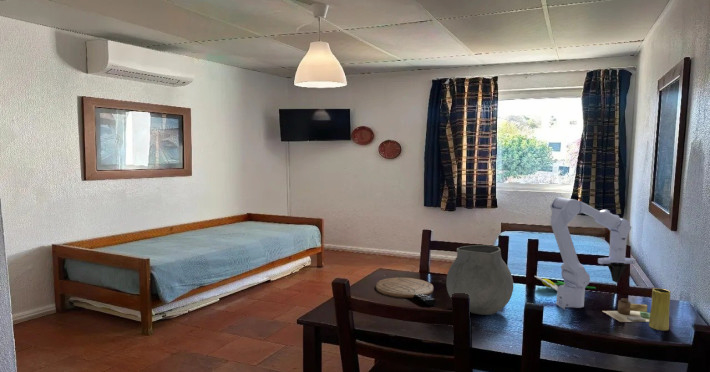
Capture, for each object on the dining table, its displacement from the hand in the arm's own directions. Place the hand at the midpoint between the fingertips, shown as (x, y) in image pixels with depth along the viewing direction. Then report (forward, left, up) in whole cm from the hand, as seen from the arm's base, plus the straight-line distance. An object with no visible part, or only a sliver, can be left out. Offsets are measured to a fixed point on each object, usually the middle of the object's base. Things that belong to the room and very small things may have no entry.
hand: (615, 281), depth 187 cm
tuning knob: (-1, -13, -9) cm, 15 cm away
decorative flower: (-9, +21, -10) cm, 25 cm away
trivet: (-81, +23, -10) cm, 85 cm away
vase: (-1, -26, -10) cm, 28 cm away
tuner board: (-4, -15, -10) cm, 18 cm away
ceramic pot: (-58, -6, -10) cm, 59 cm away
